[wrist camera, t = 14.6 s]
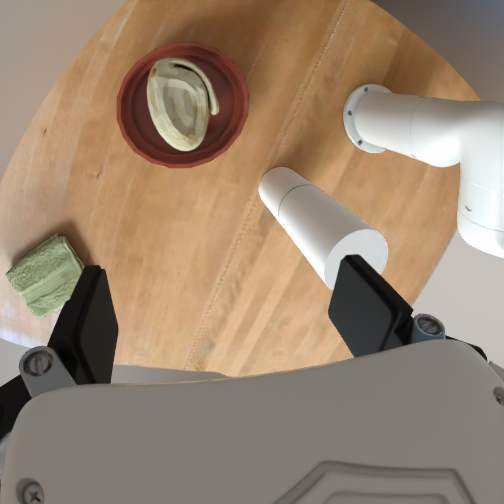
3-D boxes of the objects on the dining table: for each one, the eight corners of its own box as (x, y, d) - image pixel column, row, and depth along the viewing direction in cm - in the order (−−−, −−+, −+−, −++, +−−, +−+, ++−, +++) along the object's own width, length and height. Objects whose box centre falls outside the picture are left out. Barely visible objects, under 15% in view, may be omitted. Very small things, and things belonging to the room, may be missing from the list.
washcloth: (103, 285, 49) (99, 295, 47) (42, 314, 49) (37, 324, 46) (64, 226, 43) (58, 234, 40) (5, 265, 42) (-2, 274, 40)
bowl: (244, 52, 37) (253, 45, 32) (236, 160, 45) (244, 168, 40) (128, 53, 33) (120, 46, 28) (125, 162, 41) (117, 171, 36)
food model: (152, 81, 36) (126, 62, 18) (197, 67, 36) (206, 38, 19) (170, 141, 41) (158, 169, 23) (213, 128, 41) (235, 145, 24)
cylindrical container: (270, 215, 50) (336, 307, 29) (251, 180, 47) (313, 254, 25) (306, 195, 50) (393, 271, 28) (290, 159, 46) (380, 215, 25)
